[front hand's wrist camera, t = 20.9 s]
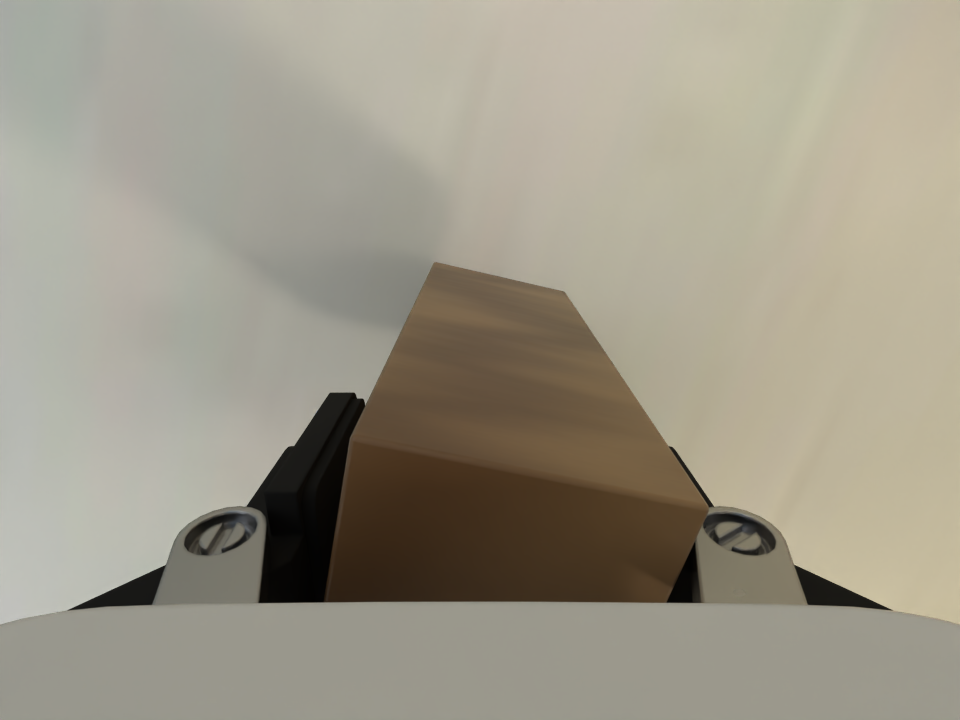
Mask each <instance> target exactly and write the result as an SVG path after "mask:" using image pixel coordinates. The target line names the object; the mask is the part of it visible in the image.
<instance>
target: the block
mask: <svg viewBox="0 0 960 720" xmlns="http://www.w3.org/2000/svg"><path fill="white" fill-rule="evenodd" d="M708 512H709V507H708V504H707V503H706V501H705V500H704V498H703V497H702V496H701V494H700V493H699V491H698V490H697V488H696V487H695V485H694V484H693V482H692V481H691V479H690V478H689V476H688V475H687V473H686V472H685V470H684V469H683V467H682V466H681V464H680V463H679V461H678V460H677V458H676V457H675V455H674V454H673V452H672V451H671V449H670V448H669V446H668V445H667V443H666V442H665V440H664V439H663V438H662V436H661V435H660V433H659V432H658V430H657V429H656V427H655V426H654V424H653V423H652V421H651V420H650V418H649V417H648V415H647V414H646V412H645V411H644V409H643V408H642V406H641V405H640V403H639V402H638V400H637V399H636V397H635V396H634V394H633V393H632V391H631V390H630V388H629V387H628V385H627V384H626V382H625V381H624V379H623V378H622V377H621V375H620V374H619V372H618V371H617V369H616V368H615V366H614V365H613V363H612V362H611V360H610V359H609V357H608V356H607V354H606V353H605V351H604V350H603V348H602V347H601V345H600V344H599V342H598V341H597V339H596V338H595V336H594V335H593V333H592V332H591V330H590V329H589V327H588V326H587V324H586V323H585V321H584V320H583V318H582V317H581V316H580V314H579V313H578V311H577V310H576V308H575V307H574V305H573V304H572V302H571V301H570V299H569V298H568V296H567V295H566V293H565V292H563V291H559V290H555V289H550V288H546V287H542V286H537V285H533V284H529V283H524V282H520V281H515V280H511V279H507V278H502V277H498V276H494V275H489V274H485V273H481V272H476V271H472V270H468V269H463V268H459V267H454V266H450V265H446V264H441V263H437V262H434V264H433V265H432V268H431V270H430V272H429V274H428V276H427V278H426V280H425V282H424V284H423V286H422V288H421V290H420V293H419V295H418V297H417V299H416V301H415V303H414V305H413V307H412V309H411V311H410V313H409V316H408V318H407V320H406V322H405V324H404V326H403V328H402V330H401V332H400V334H399V336H398V339H397V341H396V343H395V345H394V347H393V349H392V351H391V353H390V355H389V357H388V359H387V362H386V364H385V366H384V368H383V370H382V372H381V374H380V376H379V378H378V380H377V382H376V385H375V387H374V389H373V391H372V393H371V395H370V397H369V399H368V401H367V403H366V405H365V408H364V410H363V412H362V414H361V416H360V418H359V420H358V422H357V424H356V426H355V428H354V431H353V433H352V435H351V437H350V440H349V447H348V453H347V459H346V465H345V472H344V478H343V484H342V490H341V497H340V503H339V509H338V515H337V522H336V528H335V534H334V540H333V547H332V553H331V559H330V565H329V572H328V578H327V584H326V590H325V596H324V603H330V602H621V603H666V602H667V600H668V598H669V596H670V594H671V591H672V589H673V587H674V585H675V583H676V581H677V579H678V576H679V574H680V572H681V570H682V568H683V566H684V564H685V561H686V559H687V557H688V555H689V553H690V551H691V548H692V546H693V544H694V542H695V540H696V538H697V536H698V533H699V531H700V529H701V527H702V525H703V523H704V521H705V518H706V516H707V514H708Z"/></svg>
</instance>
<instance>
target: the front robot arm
mask: <svg viewBox="0 0 960 720" xmlns="http://www.w3.org/2000/svg"><path fill="white" fill-rule="evenodd" d="M364 408H365V402H364V399H357V397H356V394H355V393H329V395H328V396H327V398H326V399H325V401H324V402H323V404H322V405H321V407H320V408H319V410H318V411H317V413H316V414H315V416H314V417H313V419H312V420H311V422H310V423H309V425H308V426H307V428H306V429H305V431H304V432H303V434H302V435H301V437H300V438H299V440H298V441H297V443H296V444H295V446H290V447H288V448H287V449H286V450H285V451H284V453H283V454H282V455H281V457H280V458H279V460H278V461H277V463H276V464H275V466H274V467H273V469H272V470H271V471H270V473H269V474H268V476H267V477H266V479H265V480H264V482H263V483H262V485H261V486H260V487H259V489H258V490H257V492H256V493H255V495H254V496H253V498H252V499H251V501H250V502H249V504H248V505H247V506H246V507H243V506H237V507H227V508H223V509H219V510H215V511H212V512H210V513H207V514H205V515H202V516H200V517H198V518H197V519H195V520H194V521H192V522H190V523H189V524H188V525H187V526H186V527H184V528H183V529H182V530H181V531H180V532H179V534H178V535H177V537H176V539H175V541H174V543H173V546H172V549H171V552H170V555H169V558H168V560H167V563H166V565H165V566H163V567H160V568H158V569H156V570H154V571H152V572H150V573H147V574H145V575H143V576H141V577H139V578H137V579H134V580H132V581H130V582H128V583H126V584H124V585H121V586H119V587H117V588H115V589H113V590H111V591H108V592H106V593H104V594H102V595H100V596H98V597H95V598H93V599H91V600H89V601H87V602H85V603H82V604H80V605H78V606H76V607H74V608H72V609H69V610H67V611H62V612H56V613H51V614H45V615H40V616H34V617H29V618H23V619H19V620H15V621H12V622H8V623H4V624H1V625H0V720H960V625H959V624H956V623H952V622H948V621H945V620H941V619H937V618H931V617H926V616H920V615H915V614H909V613H904V612H898V611H893V610H891V609H889V608H887V607H884V606H882V605H880V604H878V603H876V602H874V601H871V600H869V599H867V598H865V597H863V596H861V595H858V594H856V593H854V592H852V591H850V590H848V589H845V588H843V587H841V586H839V585H837V584H835V583H832V582H830V581H828V580H826V579H824V578H822V577H819V576H817V575H815V574H813V573H811V572H809V571H806V570H804V569H802V568H800V567H798V566H796V565H794V563H793V560H792V558H791V555H790V552H789V549H788V546H787V543H786V541H785V539H784V537H783V535H782V534H781V532H780V531H779V530H778V529H777V528H776V527H774V526H773V525H772V524H771V523H770V522H768V521H766V520H765V519H763V518H762V517H760V516H758V515H755V514H753V513H750V512H748V511H745V510H741V509H737V508H733V507H723V506H717V507H714V506H713V504H712V503H711V501H710V500H709V499H708V497H707V496H706V494H705V493H704V491H703V490H702V488H701V487H700V485H699V484H698V483H697V481H696V480H695V478H694V477H693V475H692V474H691V472H690V471H689V469H688V468H687V467H686V465H685V464H684V462H683V461H682V459H681V458H680V456H679V455H678V453H677V452H676V450H675V449H674V448H673V447H670V446H669V448H670V449H671V451H672V452H673V454H674V455H675V457H676V458H677V460H678V461H679V463H680V464H681V466H682V467H683V469H684V470H685V472H686V473H687V475H688V476H689V478H690V479H691V481H692V482H693V484H694V485H695V487H696V488H697V490H698V491H699V493H700V494H701V496H702V497H703V498H704V500H705V501H706V503H707V504H708V507H709V512H708V514H707V516H706V518H705V521H704V523H703V525H702V527H701V529H700V531H699V533H698V536H697V538H696V540H695V542H694V544H693V546H692V548H691V551H690V553H689V555H688V557H687V559H686V561H685V564H684V566H683V568H682V570H681V572H680V574H679V576H678V579H677V581H676V583H675V585H674V587H673V589H672V591H671V594H670V596H669V598H668V600H667V602H666V603H621V602H330V603H324V596H325V590H326V584H327V578H328V572H329V565H330V559H331V553H332V547H333V540H334V534H335V528H336V522H337V515H338V509H339V503H340V497H341V490H342V484H343V478H344V472H345V465H346V459H347V453H348V447H349V440H350V437H351V435H352V433H353V431H354V428H355V426H356V424H357V422H358V420H359V418H360V416H361V414H362V412H363V410H364Z"/></svg>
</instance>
